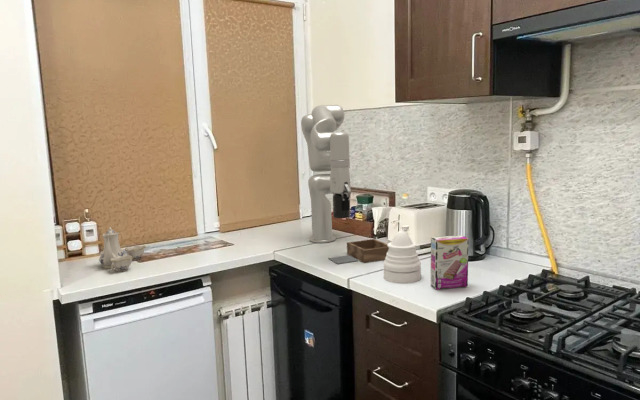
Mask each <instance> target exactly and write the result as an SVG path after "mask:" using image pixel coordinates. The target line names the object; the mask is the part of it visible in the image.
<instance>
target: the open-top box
mask: <svg viewBox="0 0 640 400" xmlns="http://www.w3.org/2000/svg"><path fill="white" fill-rule="evenodd" d="M387 245H388V243H386V242H383V241H380V240H378V239H375V238H369V239H362V240H356V241H354V240H353V241H349V242H346V255H349V256H351V257H353V258H355V259H357V260H358V261H360V262H362V263H363V264H367V263H374V262H378V261H385V258H386V256H387V255H386V254H387V252H388V249H389V248H388V246H387Z"/></svg>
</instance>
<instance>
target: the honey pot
mask: <svg viewBox="0 0 640 400" xmlns="http://www.w3.org/2000/svg"><path fill="white" fill-rule="evenodd" d="M401 229H402V230H398V231H397V232H396V233H395V235H394V236H393V238H392V240H391V241H389V242H388V243H387V244H388V245H387V246H388V248H389V249H388V252H387V254H386V255H387V256H386V258H385V260H383V279H384V280H385V281H386V282H387V281H388V282H390V283H394V284H395V283H396V284H411V283H415V282H418V281H420V280H421V278H422V268H421V267H422V266H421V264H422V263H421V261H420V257H419V254H418V252H417V249H416V248H417V244H416V243H415V242H413V241H412V238H411V237H410V235H409V234H408V233H407V232H408V231H409V229H410V225H408V224H407V225H401Z"/></svg>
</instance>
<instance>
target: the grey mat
mask: <svg viewBox="0 0 640 400" xmlns="http://www.w3.org/2000/svg"><path fill="white" fill-rule="evenodd" d="M328 260H329V261H331V262H332V263H335V264H337V265H342V264H343V265H344V264H348V263H356V262H359V260H358V259H356V258H354V257H352V256H350V255H348V254H346V255H341V256H340V255H339V256H332V257H328Z"/></svg>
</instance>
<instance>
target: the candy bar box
mask: <svg viewBox="0 0 640 400" xmlns="http://www.w3.org/2000/svg"><path fill="white" fill-rule="evenodd" d="M469 242H470V241H469V238H468V237H466V236H464V235H448V236H447V235H446V236H431V237H430V287H432V288H433V289H435V290H446V289H457V288H458V289H459V288H460V289H461V288H468V283H469V281H468V280H469Z"/></svg>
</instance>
